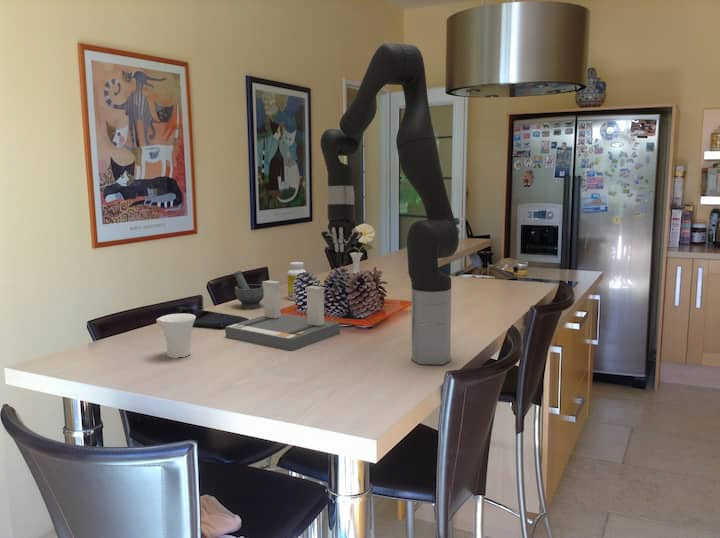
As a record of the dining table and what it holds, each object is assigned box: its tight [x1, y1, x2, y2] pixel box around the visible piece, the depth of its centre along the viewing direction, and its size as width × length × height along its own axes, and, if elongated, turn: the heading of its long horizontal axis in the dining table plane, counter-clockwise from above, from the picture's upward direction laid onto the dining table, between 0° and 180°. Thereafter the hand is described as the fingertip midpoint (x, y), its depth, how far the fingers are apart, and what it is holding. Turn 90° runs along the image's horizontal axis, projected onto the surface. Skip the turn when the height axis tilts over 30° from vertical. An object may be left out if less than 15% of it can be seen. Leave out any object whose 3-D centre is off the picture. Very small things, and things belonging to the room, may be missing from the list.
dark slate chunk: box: [175, 306, 250, 329], centre depth 189 cm, size 15×22×5 cm
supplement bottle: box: [287, 261, 307, 301], centre depth 219 cm, size 7×7×13 cm
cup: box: [156, 313, 196, 358], centre depth 154 cm, size 9×9×10 cm
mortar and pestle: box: [233, 270, 264, 310], centre depth 208 cm, size 11×9×12 cm
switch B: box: [261, 280, 282, 318], centre depth 179 cm, size 3×5×10 cm, turn 55°
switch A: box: [305, 285, 326, 326], centre depth 170 cm, size 3×5×10 cm, turn 55°
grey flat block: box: [224, 312, 341, 352], centre depth 172 cm, size 20×24×3 cm
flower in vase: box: [349, 223, 376, 273], centre depth 233 cm, size 13×11×25 cm
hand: (342, 265), depth 175 cm, fingers closed
